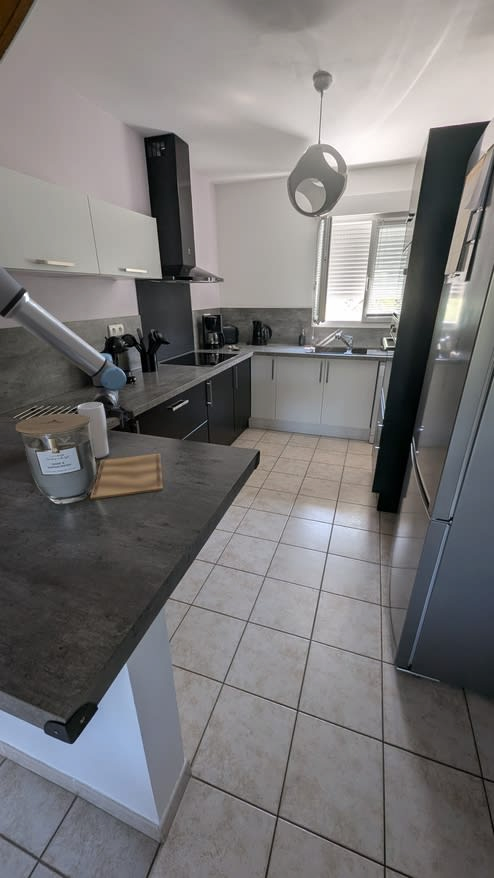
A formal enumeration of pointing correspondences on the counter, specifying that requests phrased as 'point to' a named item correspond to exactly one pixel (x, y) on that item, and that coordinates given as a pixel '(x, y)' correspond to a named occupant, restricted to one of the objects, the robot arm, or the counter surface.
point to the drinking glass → (96, 426)
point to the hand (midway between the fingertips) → (96, 426)
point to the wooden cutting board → (128, 476)
